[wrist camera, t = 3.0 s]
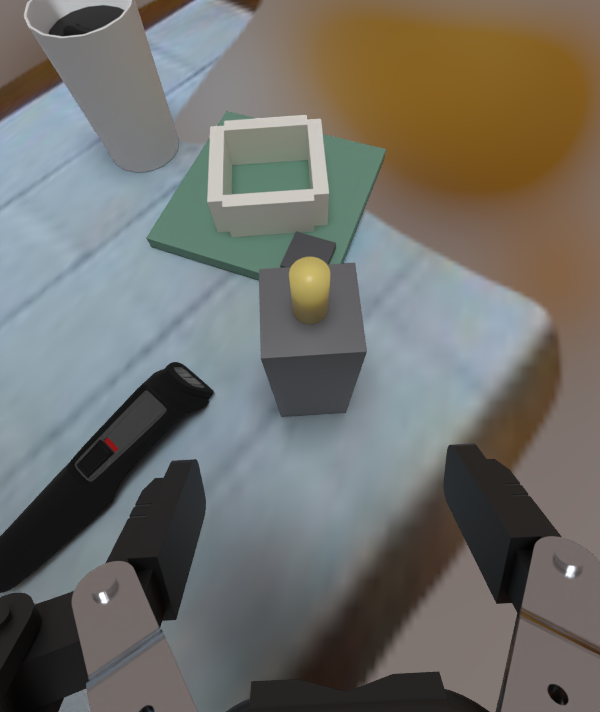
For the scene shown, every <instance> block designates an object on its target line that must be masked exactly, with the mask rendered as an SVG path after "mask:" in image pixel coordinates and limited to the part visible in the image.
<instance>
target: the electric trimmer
mask: <svg viewBox="0 0 600 712" xmlns="http://www.w3.org/2000/svg"><path fill="white" fill-rule="evenodd" d="M212 393H213V390H212V389H211V388H210V387H209V386H207V385H206V384H205V383H204V382H203V381H202V380H201V379H199V378H198V377H197V376H196V375H195V374H194V373H193V372H192V371H190V370H189V369H188V368H187V367H186V366H184V365H183V364H181V363H178V362H173V363H170V364H169V365H168V366H167V367H166V368H165V369H163V370H160V371H158V372H156V373H154V374H153V375H152V376H151V377H150V378H149V379H148V380H147V381H145V382H144V383H143V384H142V385H141V386H140V387H139V388H138V389H137V390H136V391H135V392H134V393H133V394H132V395H131V396H130V397H129V398H128V399H127V400H126V401H125V403H124V404H123V405H122V406H121V407H120V408H119V409H118V410H117V411H116V412H115V413H114V414H113V415H112V416H111V417H110V418H109V420H108V421H107V422H106V423H105V424H104V425H103V426H102V427H101V428H100V429H99V430H98V431H97V432H96V433H95V434H94V435H93V436H92V438H91V439H90V440H89V441H88V442H87V443H86V444H85V445H84V446H83V447H82V448H81V450H80V451H79V452H78V453H77V454H76V455H75V456H74V458H73V459H72V460H71V461H70V463H69V464H68V465H67V466H66V467H65V468H64V469H63V470H62V471H61V472H60V473H59V474H58V475H57V476H56V477H55V478H54V479H53V480H52V481H51V482H50V484H49V485H48V486H47V487H46V488H45V489H44V490H43V491H42V492H41V493H40V494H39V495H38V496H37V498H36V499H35V500H34V501H33V502H32V503H31V504H30V505H29V506H28V507H27V508H26V509H25V510H24V512H23V513H22V514H21V515H20V516H19V517H18V518H17V519H16V520H15V521H14V522H13V523H12V524H11V526H10V527H9V528H8V529H7V530H6V531H5V532H4V533H3V534H2V535H1V536H0V593H2V592H5V591H8V590H10V589H12V588H13V587H15V586H16V585H18V584H19V583H20V582H21V581H22V580H24V579H25V578H26V577H27V576H29V575H30V574H31V573H32V572H33V571H35V570H36V569H37V568H38V567H39V566H41V565H42V564H43V563H44V562H45V561H46V560H48V559H49V558H50V557H51V556H52V555H53V554H54V553H56V552H57V551H58V550H59V549H60V548H61V547H63V546H64V545H65V544H66V543H67V542H68V541H69V540H71V539H72V538H73V537H74V536H75V535H76V534H78V533H79V532H80V531H81V530H82V529H83V528H85V527H86V526H87V525H88V524H89V523H90V522H91V521H92V520H94V519H95V518H96V517H97V516H98V515H99V514H100V513H101V512H102V511H103V510H104V509H105V508H107V507H108V506H109V504H110V503H111V502H112V499H113V496H114V493H115V490H116V487H117V485H118V484H119V482H120V481H121V479H122V478H123V477H124V476H125V475H126V473H127V472H128V471H129V470H130V469H131V468H132V467H133V466H134V465H135V464H136V463H137V462H138V460H139V459H140V458H141V457H142V456H143V455H144V454H145V453H146V452H147V451H148V450H149V449H150V448H151V447H152V446H153V445H154V444H155V443H156V442H157V441H158V440H159V439H160V438H161V437H162V436H163V435H164V434H165V433H166V431H168V430H169V429H170V428H171V427H172V426H173V425H174V424H175V423H176V422H177V421H178V420H179V419H180V418H182V417H183V416H184V415H186V414H188V413H191V412H193V411H196V410H198V409H200V408H203V407H204V406H205V405H206V404H208V402H209V401H208V397H209V396H210V395H211V394H212Z"/></svg>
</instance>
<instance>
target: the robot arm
mask: <svg viewBox="0 0 600 712" xmlns="http://www.w3.org/2000/svg"><path fill="white" fill-rule="evenodd" d="M444 494H445V498H446V501H447V504H448V506H449V508H450V510H451V512H452V514H453V516H454V518H455V520H456V522H457V524H458V526H459V528H460V530H461V532H462V534H463V536H464V538H465V540H466V542H467V545H468V547H469V549H470V551H471V553H472V555H473V557H474V558H475V561H476V562H477V565H478V567H479V569H480V571H481V573H482V575H483V577H484V579H485V581H486V583H487V585H488V587H489V589H490V591H491V593H492V595H493V597H494V600H495V601H496V603H497V604H501V603H513V605H514V607H515V609H516V611H517V617H516V621H515V626H514V631H513V635H512V640H511V644H510V649H509V654H508V659H507V663H506V668H505V673H504V677H503V682H502V686H501V691H500V695H499V700H498V703H497V708H496V712H600V561H599V560H598V559H597V557H596V556H594V554H593V553H591V552H590V551H589V550H588V549H586V548H585V547H583V546H581V545H580V544H578V543H576V542H574V541H571V540H569V539H566V538H562V537H561V536H560V534H559V533H558V532H557V530H556V529H555V528H554V526H553V525H552V524H551V523H550V521H549V520H548V519H547V517H546V516H545V515H544V513H543V512H542V511H541V510H540V508H539V507H538V506H537V504H536V503H535V502H534V501H533V499H532V498H531V497H530V496H528V493H527V492H526V490H525V489H524V488H523V486H522V485H520V482H519V481H518V480H517V479H516V477H515V476H514V475H513V473H512V472H511V471H510V470H509V469H508V468H506V467H505V466H504V465H502V464H501V463H499V462H498V461H497V460H495V459H486V458H485V456H484V455H483V454H482V452H481V451H480V449H479V448H478V447H477V446H476V445H475V444H457V445H449V446H448V449H447V456H446V465H445V474H444ZM135 505H136V506H135V507H134V508H133V510H132V512H131V514H130V518H129V519H128V520H127V522H126V524H125V526H124V528H123V530H122V532H121V534H120V536H119V538H118V540H117V542H116V544H115V546H114V548H113V550H112V552H111V554H110V556H109V558H108V560H107V561H106V563H105V564H103V565H101V566H99V567H97V568H95V569H94V570H92V571H91V572H90V573H88V574H87V575H86V576H85V577H84V578H83V579H82V580H81V581H80V583H79V584H78V585H77V587H76V589H75V591H72V592H70V593H67V594H65V595H62V596H59V597H56V598H53V599H50V600H47V601H44V602H41V603H38V604H34V602H33V600H32V598H31V597H30V596H29V595H27V594H25V593H12V594H8V595H5V596H2V597H0V712H58V711H59V709H60V706H61V704H62V701H63V699H64V697H66V696H69V695H71V694H74V693H76V692H78V691H81V690H83V689H86V688H87V694H88V699H89V704H90V708H91V712H197V709H196V707H195V705H194V702H193V700H192V698H191V695H190V693H189V691H188V688H187V686H186V684H185V682H184V679H183V677H182V675H181V672H180V670H179V668H178V665H177V663H176V661H175V658H174V656H173V654H172V652H171V649H170V647H169V645H168V642H167V640H166V638H165V636H164V634H163V632H162V630H160V626H161V623H162V621H165V620H176V618H177V615H178V611H179V607H180V604H181V600H182V597H183V593H184V589H185V586H186V582H187V578H188V575H189V571H190V567H191V564H192V560H193V557H194V553H195V549H196V546H197V542H198V538H199V535H200V531H201V527H202V524H203V520H204V516H205V510H206V499H205V493H204V488H203V483H202V478H201V473H200V468H199V464H198V461H197V460H196V459H194V460H177V461H172V462H171V463H170V465H169V467H168V470H167V472H166V474H165V476H164V478H155V479H154V480H153V481H152V482H151V483H150V484H149V485H148V486H147V487H146V488H145V489H143V490H142V492H141V494H140V496H139V498H138V500H137V502H136V504H135ZM226 712H489V711H488V710H486V709H485V708H483V707H482V706H480V705H479V704H478V703H476V702H474V701H472V700H471V699H469V698H467V697H465V696H463V695H460V694H458V693H456V692H453V691H450V690H447V689H444V686H443V683H442V680H441V676H440V673H439V672H425V673H424V672H423V673H404V674H392V675H389V676H387V677H384V678H381V679H379V680H376V681H374V682H371V683H369V684H366V685H363V686H361V687H358V688H356V689H353V690H350V691H341V690H337V689H333V688H329V687H326V686H322V685H318V684H314V683H310V682H306V681H303V680H299V679H291V680H272V681H253V682H251V694H250V699H248V700H245V701H243V702H241V703H239V704H237V705H235V706H234V707H232V708H230V709H229V710H228V711H226Z"/></svg>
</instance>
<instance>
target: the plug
mask: <svg viewBox="0 0 600 712" xmlns="http://www.w3.org/2000/svg"><path fill="white" fill-rule="evenodd" d="M259 292H260V339H261V360H262V363H263V366H264V369H265V372H266V374H267V377H268V380H269V383H270V386H271V389H272V391H273V394H274V397H275V400H276V403H277V406H278V408H279V411H280V414H281V417H286V416H302V415H318V414H333V413H346V411H347V408H348V405H349V402H350V399H351V396H352V393H353V390H354V387H355V384H356V381H357V379H358V376H359V373H360V370H361V367H362V364H363V361H364V358H365V355H366V352H367V350H366V342H365V334H364V327H363V319H362V312H361V304H360V297H359V289H358V282H357V274H356V266H355V263H343V264H328V265H327V264H326V263H325V262H324V261H323V260H321V259H319V258H316V257H304V258H301V259H299V260H297V261H296V262H295V263H294V264H293V265H292V266H291V267H283V268H269V269H259Z"/></svg>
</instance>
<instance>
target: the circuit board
mask: <svg viewBox="0 0 600 712" xmlns="http://www.w3.org/2000/svg"><path fill="white" fill-rule="evenodd" d="M242 119H256V118H252V117H248V116H244V115H240V114H236V113H232V112H228V111H226V113H225V114H224V116H223V117H222V119H221V121H220V122H219V124H218V125H217V126H224V121H228V120H242ZM323 143H324V152H325V161H326V170H327V179H328V188H329V206H328V225H321V226H314V232H301V233H300V232H297V231H296V232H295V233H286V234H272V235H257V236H243V237H231V234H230V232H220V233H218V232H217V229H216V226H215V223H214V220H213V217H212V214H211V212H210V209H209V206H208V203H207V195H208V171H209V146H210V138H209V140H208V141H207V143H206V144H205V146H204V147H203V149H202V151H201V152H200V154H199V155H198V157H197V159H196V160H195V162H194V163H193V165H192V166H191V168H190V170H189V171H188V173H187V174H186V176H185V178H184V179H183V181H182V182H181V184H180V185H179V187H178V189H177V190H176V192H175V193H174V195H173V197H172V198H171V200H170V201H169V203H168V204H167V206H166V208H165V209H164V211H163V212H162V214H161V216H160V217H159V219H158V220H157V222H156V223H155V225H154V227H153V228H152V230H151V231H150V233H149V234H148V236H147V238H146V239H147V240H148V242H149V243H150V245H151V247H154V248H157V249H160V250H164V251H167V252H170V253H173V254H176V255H180V256H183V257H186V258H189V259H192V260H196V261H199V262H202V263H205V264H209V265H212V266H215V267H218V268H221V269H225V270H228V271H231V272H234V273H237V274H241V275H244V276H247V277H250V278H253V279H257V280H259V269H269V268H283V267H291V266H292V265H293V264H294V263H295V262H296V261H297V260H299V259H301V258H304V257H316V258H319V259H321V260H323V261H324V262H325V263H326V264H327V265H328V264H343V261H344V259H345V256H346V254H347V251H348V249H349V246H350V244H351V241H352V239H353V236H354V234H355V231H356V229H357V226H358V224H359V221H360V219H361V216H362V214H363V211H364V209H365V206H366V204H367V201H368V199H369V196H370V194H371V191H372V189H373V186H374V183H375V181H376V178H377V176H378V174H379V171H380V169H381V166H382V164H383V161H384V157H385V152H386V149H382V148H378V147H374V146H370V145H366V144H361V143H357V142H353V141H349V140H345V139H341V138H337V137H332V136H328V135H324V134H323ZM303 189H310V177H309V166H308V160H300V161H286V162H272V163H258V164H243V165H232V194H246V193H260V192H274V191H289V190H303Z"/></svg>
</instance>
